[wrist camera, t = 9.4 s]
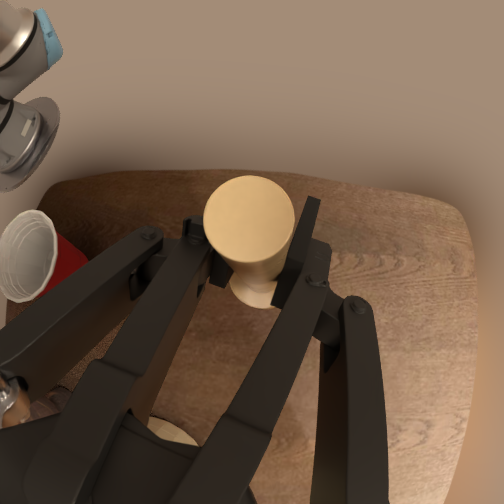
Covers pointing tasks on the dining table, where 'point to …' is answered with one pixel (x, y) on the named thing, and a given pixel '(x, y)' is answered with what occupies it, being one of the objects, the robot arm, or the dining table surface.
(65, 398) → the mortar and pestle
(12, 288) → the plastic cup
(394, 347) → the dining table surface
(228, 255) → the muddler
